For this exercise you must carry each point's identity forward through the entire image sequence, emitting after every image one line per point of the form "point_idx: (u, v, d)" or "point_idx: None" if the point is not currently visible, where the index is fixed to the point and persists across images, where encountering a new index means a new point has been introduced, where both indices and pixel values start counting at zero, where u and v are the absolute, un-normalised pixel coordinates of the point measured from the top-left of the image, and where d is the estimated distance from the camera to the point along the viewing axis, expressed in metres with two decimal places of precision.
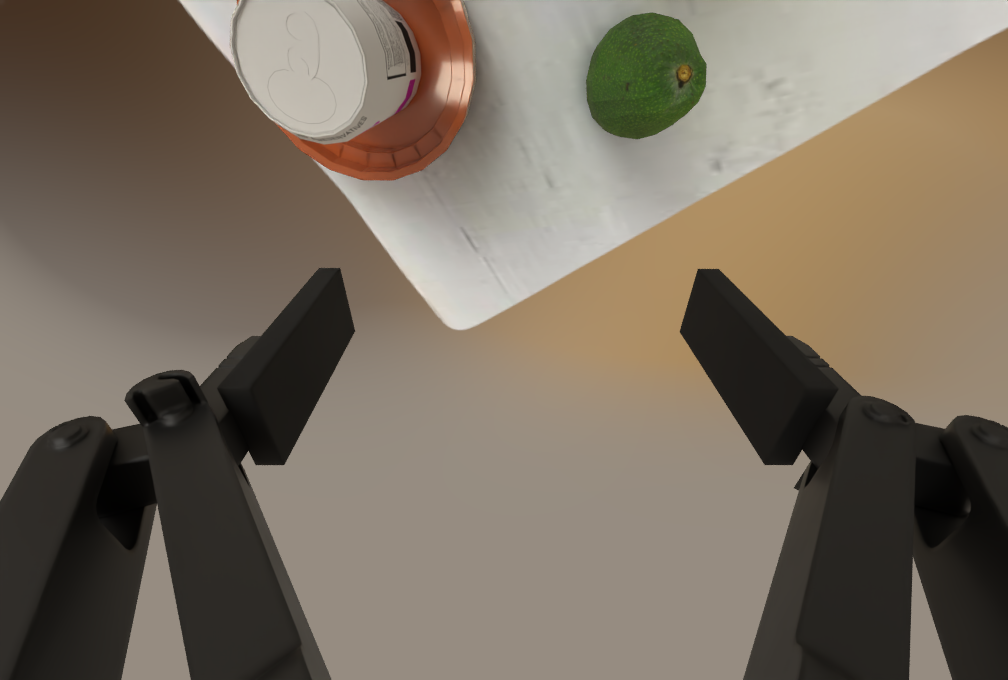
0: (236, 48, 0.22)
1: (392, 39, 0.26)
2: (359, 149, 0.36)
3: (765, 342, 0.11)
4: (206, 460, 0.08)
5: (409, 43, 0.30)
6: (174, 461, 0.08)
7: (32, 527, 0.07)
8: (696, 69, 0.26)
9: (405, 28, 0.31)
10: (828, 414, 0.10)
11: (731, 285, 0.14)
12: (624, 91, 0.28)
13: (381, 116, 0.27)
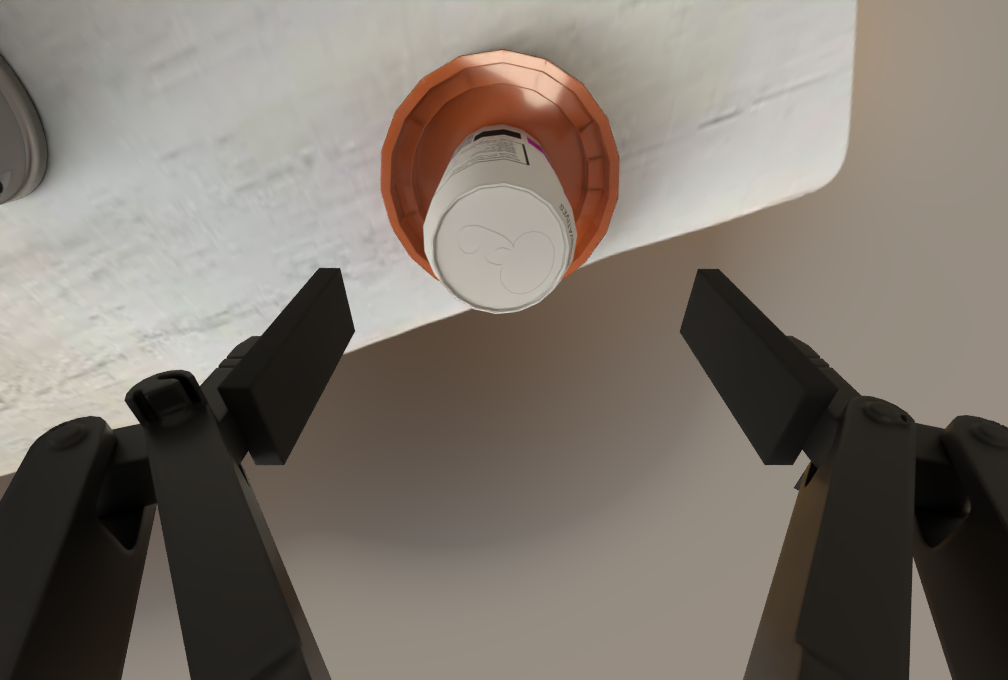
0: (477, 304, 0.23)
1: (491, 147, 0.23)
2: None
3: (765, 342, 0.11)
4: (206, 460, 0.08)
5: (494, 132, 0.28)
6: (174, 461, 0.08)
7: (32, 527, 0.07)
8: None
9: (480, 132, 0.29)
10: (828, 414, 0.10)
11: (731, 285, 0.14)
12: None
13: (560, 186, 0.23)
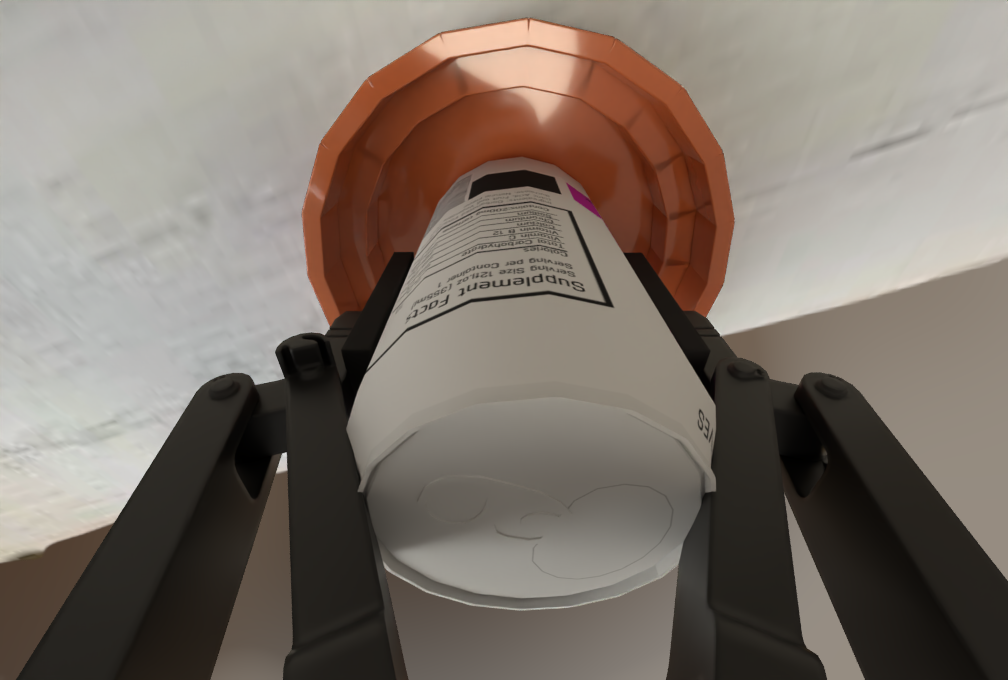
0: (477, 593, 0.10)
1: (506, 232, 0.10)
2: None
3: (660, 313, 0.12)
4: (328, 417, 0.09)
5: (508, 177, 0.15)
6: (304, 412, 0.09)
7: (187, 465, 0.08)
8: None
9: (482, 177, 0.16)
10: (704, 374, 0.11)
11: (648, 266, 0.15)
12: None
13: None
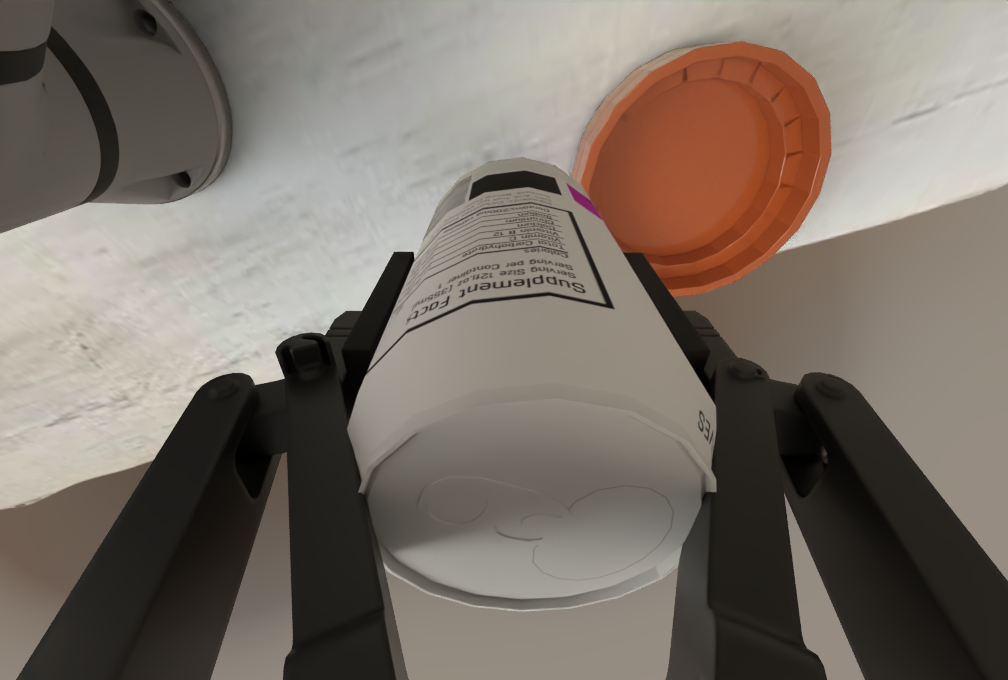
0: (477, 594, 0.10)
1: (506, 233, 0.10)
2: (755, 221, 0.33)
3: (660, 313, 0.12)
4: (328, 417, 0.09)
5: (508, 178, 0.15)
6: (304, 412, 0.09)
7: (187, 465, 0.08)
8: None
9: (482, 177, 0.16)
10: (704, 374, 0.11)
11: (648, 266, 0.15)
12: None
13: None
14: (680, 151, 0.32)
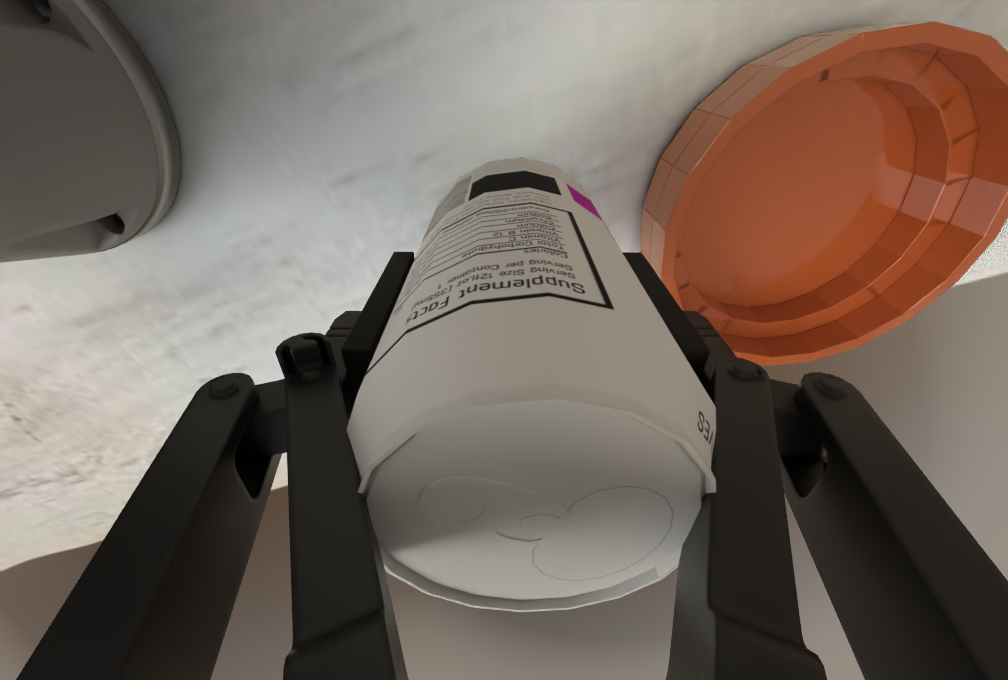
0: (477, 595, 0.10)
1: (506, 234, 0.10)
2: (888, 267, 0.25)
3: (660, 313, 0.12)
4: (328, 417, 0.09)
5: (508, 178, 0.15)
6: (304, 412, 0.09)
7: (187, 465, 0.08)
8: None
9: (482, 177, 0.16)
10: (704, 374, 0.11)
11: (648, 266, 0.15)
12: None
13: None
14: (791, 176, 0.24)
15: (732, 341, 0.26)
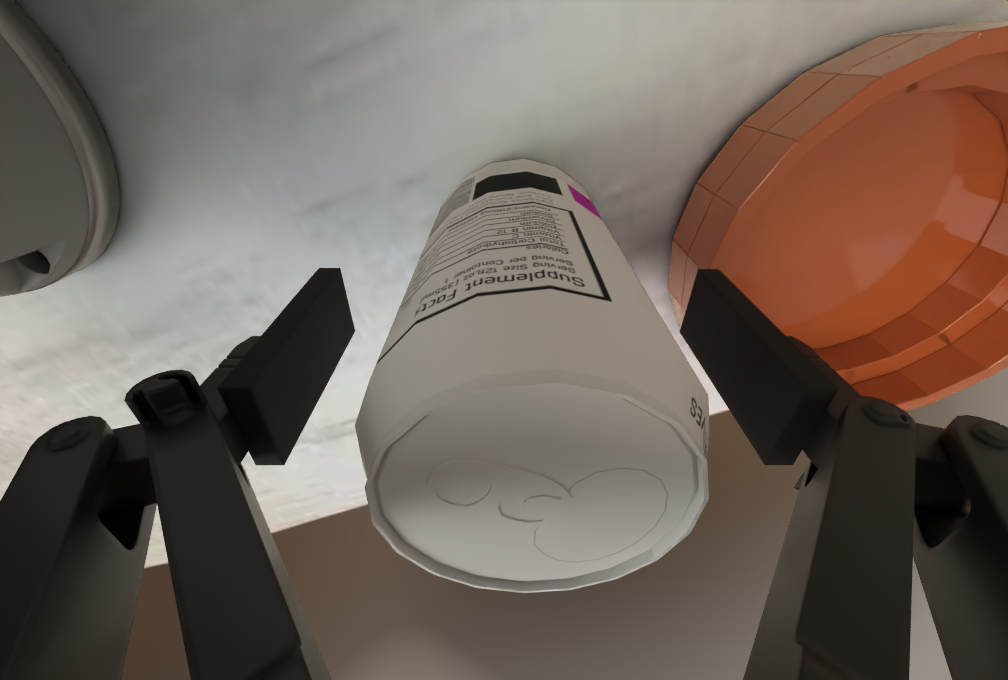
0: (480, 576, 0.11)
1: (509, 231, 0.11)
2: (966, 311, 0.21)
3: (765, 342, 0.11)
4: (206, 460, 0.08)
5: (511, 179, 0.15)
6: (174, 461, 0.08)
7: (32, 527, 0.07)
8: None
9: (486, 178, 0.16)
10: (828, 414, 0.10)
11: (731, 285, 0.14)
12: None
13: None
14: (853, 204, 0.20)
15: None
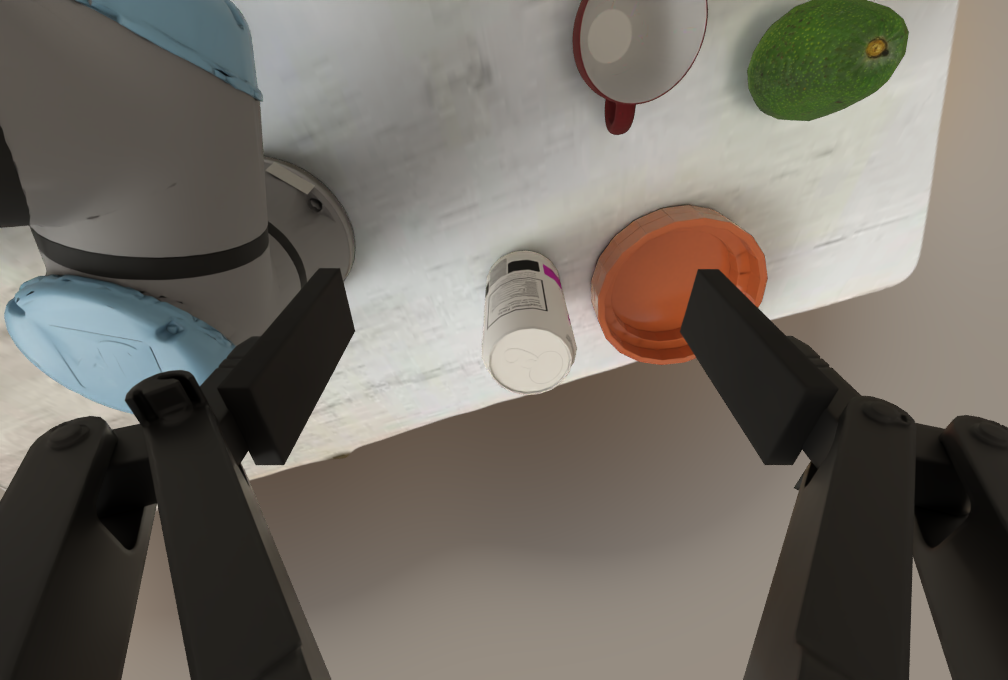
0: (514, 389, 0.37)
1: (522, 290, 0.37)
2: None
3: (765, 342, 0.11)
4: (206, 460, 0.08)
5: (521, 264, 0.41)
6: (174, 461, 0.08)
7: (32, 527, 0.07)
8: (878, 31, 0.25)
9: (511, 262, 0.42)
10: (829, 414, 0.10)
11: (731, 285, 0.14)
12: (839, 104, 0.29)
13: (566, 315, 0.37)
14: (667, 266, 0.46)
15: (642, 351, 0.49)
